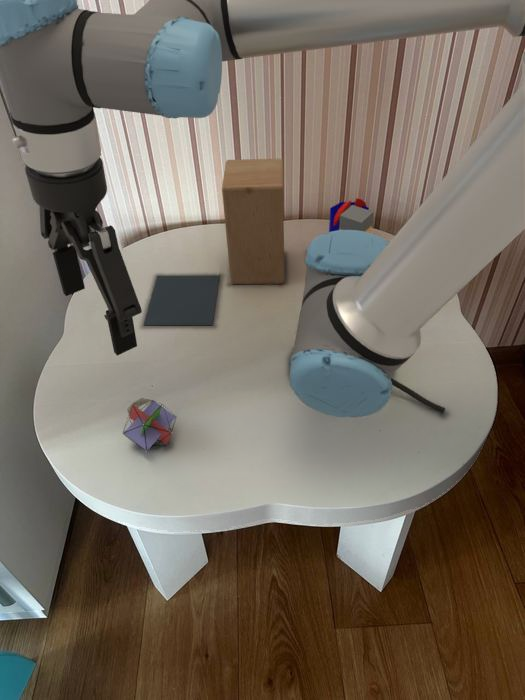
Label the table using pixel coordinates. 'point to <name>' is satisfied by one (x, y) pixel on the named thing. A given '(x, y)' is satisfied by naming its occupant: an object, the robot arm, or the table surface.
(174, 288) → the mat
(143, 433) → the geometric puzzle
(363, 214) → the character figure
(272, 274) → the wooden block
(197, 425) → the table surface
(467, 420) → the table surface
